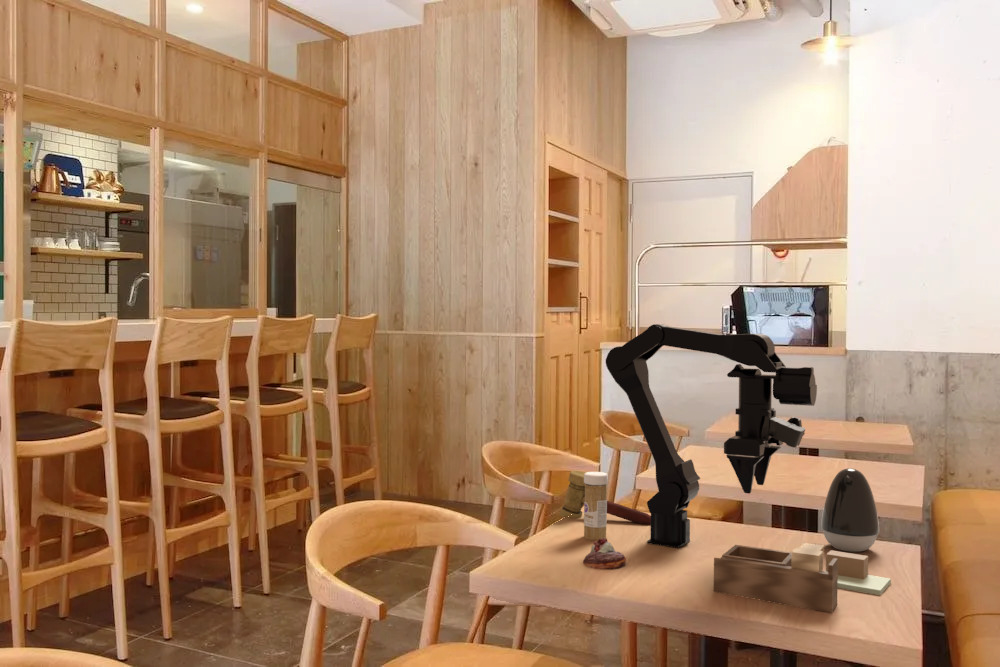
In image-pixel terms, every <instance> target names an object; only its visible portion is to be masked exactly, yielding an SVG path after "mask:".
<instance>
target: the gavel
mask: <svg viewBox="0 0 1000 667" xmlns="http://www.w3.org/2000/svg"><path fill="white" fill-rule="evenodd" d="M585 473H586V472H583V471H580V470H579V471H578V470H571V471H570V472H569V476H568V482H569V484H568V486H567V491H566V493H565V494H566V495H565V498H564V503H563V505H562V506H561V508H560V512H559V517H562V518H565V519H579V518H580V519H581V518H582V517H583V511H582V509H583V508H584V502H585V485H584V484H585V483H584V474H585ZM571 514H572V515H571ZM607 515H611V516H614V517H618V518H620V519H623V520H626V521H629V522H632V523H635V524H637V525H638V524H639V525H645V526H646V525H650V526H651V514H649V513H646V512H644V511H640V510H637V509H634V508H631V507H629V506H625V505H623V504H622V505H621V504H619V503H615V502H612V501H610V500H607ZM568 516H569V517H568Z"/></svg>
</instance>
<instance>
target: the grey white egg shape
mask: <svg viewBox="0 0 1000 667" xmlns="http://www.w3.org/2000/svg"><path fill="white" fill-rule="evenodd" d="M824 500H825V501H824V504H823V509H822V515H821V521H820V524H821V525H820V527H821V530H822V531H823V535H824V538H825V540H826V541H827V543H828V544H830V545H831V547H833V548H835V549H836V550H839V551H842V552H848V553H851V552H852V553H860V552H864V551H867V550H869V549H870V548H871V547H872V546H873V545H874V544H875V542H876V540H877V537H878V534H880V523H879V516H878V509H877V506H876V505H877V504H876V501H875V497H874V495H873V491H872V488H871V486H870V484H869V481H868V479H867V478H866V477H865V475H864V474H863V473H862V472H861V471H860V470H858V469H856V468H851V467H848V468H844V469H841V470H840V471H838V473H836V475H835V476H834V477H833V479H832V481H831V483H830V486H829V488H828V491H827V494H826V498H825V499H824Z"/></svg>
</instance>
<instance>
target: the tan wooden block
mask: <svg viewBox="0 0 1000 667" xmlns="http://www.w3.org/2000/svg"><path fill="white" fill-rule="evenodd" d="M791 552H792V559H791V568H792V569H799V570H806V571H813V572H820V573H821V571H824V570H823V568H824V555H825V545H823V544H816V543H815V544H814V543H807V542H804V543H802V545H801V546H800V547H795V548H794V549H793V550H792V551H791Z"/></svg>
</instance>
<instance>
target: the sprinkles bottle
mask: <svg viewBox="0 0 1000 667" xmlns="http://www.w3.org/2000/svg"><path fill="white" fill-rule="evenodd" d="M584 473H585V474H584V483H585V484H584V485H585V502H584V505H583V513H584V514H583V527H584V528H583V530H584V531H583V538H585V539H586V540H590V541H598V540H599V539H601V538H607V524H608V522H607V520H608V519H607V518H608V517H607V516H608V513H607V501H608V498H607V494H608V493H607V491H608V490H607V485H608V480H609V479H608V473H606V472H603V471H587V472H584Z"/></svg>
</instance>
